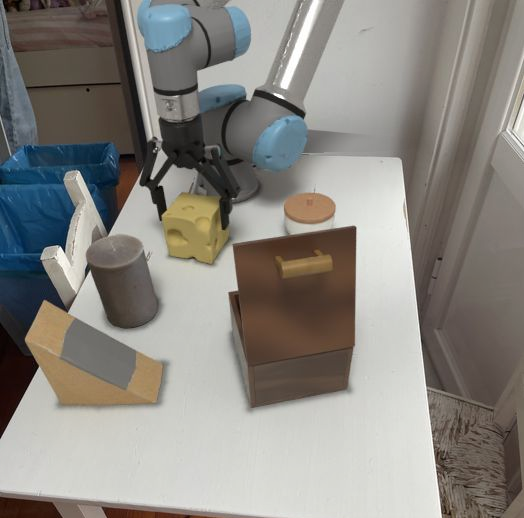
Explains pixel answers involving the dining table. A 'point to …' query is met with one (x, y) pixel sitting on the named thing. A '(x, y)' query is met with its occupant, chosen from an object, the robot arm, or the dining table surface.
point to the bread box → (289, 370)
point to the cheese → (194, 227)
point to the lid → (297, 293)
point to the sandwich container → (90, 362)
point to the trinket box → (308, 213)
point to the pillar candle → (122, 280)
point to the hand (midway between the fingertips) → (194, 222)
